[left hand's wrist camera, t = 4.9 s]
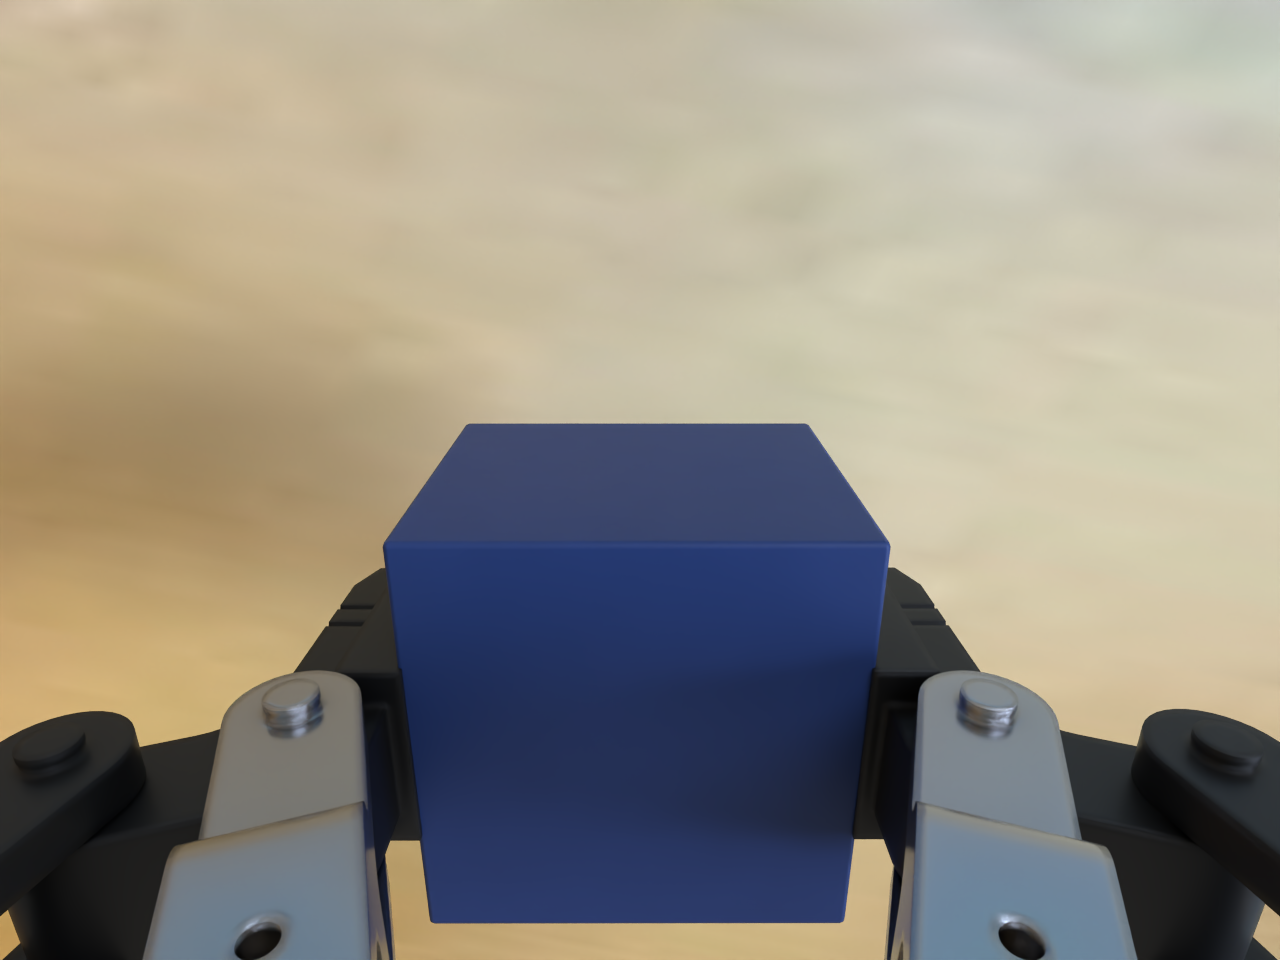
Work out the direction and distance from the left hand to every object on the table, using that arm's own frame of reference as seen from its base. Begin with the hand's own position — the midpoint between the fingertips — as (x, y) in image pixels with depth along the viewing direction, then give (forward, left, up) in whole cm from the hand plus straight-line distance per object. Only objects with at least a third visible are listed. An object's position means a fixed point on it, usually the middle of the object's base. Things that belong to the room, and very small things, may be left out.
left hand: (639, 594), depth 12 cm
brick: (0, 0, 0) cm, 0 cm away
